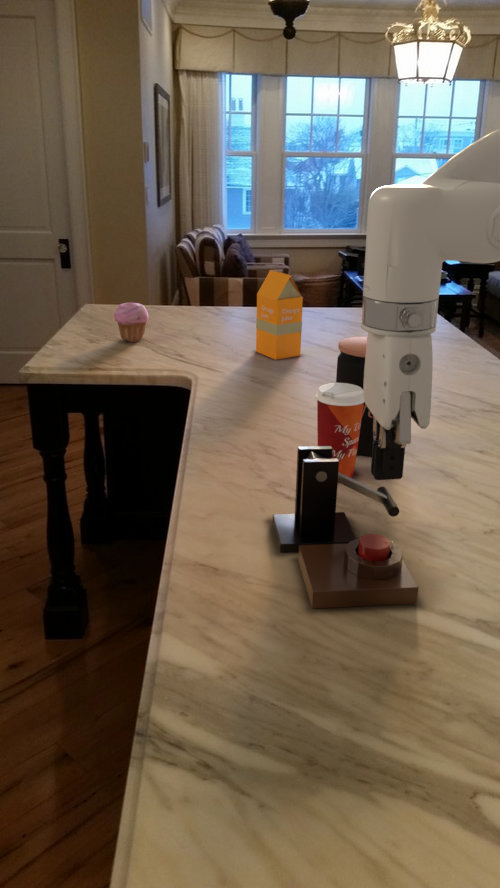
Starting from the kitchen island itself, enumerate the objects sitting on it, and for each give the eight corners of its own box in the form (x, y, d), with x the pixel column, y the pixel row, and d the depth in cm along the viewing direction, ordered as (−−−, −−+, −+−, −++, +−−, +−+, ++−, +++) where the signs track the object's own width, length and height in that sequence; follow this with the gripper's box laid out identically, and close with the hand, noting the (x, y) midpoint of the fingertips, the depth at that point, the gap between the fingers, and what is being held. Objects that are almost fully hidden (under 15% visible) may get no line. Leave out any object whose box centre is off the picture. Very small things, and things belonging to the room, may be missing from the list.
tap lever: (381, 500, 96) (390, 486, 95) (393, 521, 90) (403, 506, 90) (299, 460, 92) (308, 445, 92) (307, 480, 87) (317, 464, 86)
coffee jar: (320, 447, 121) (326, 345, 114) (349, 429, 129) (356, 333, 122) (377, 462, 115) (387, 356, 108) (403, 442, 124) (414, 342, 117)
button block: (392, 556, 89) (395, 529, 87) (416, 603, 80) (420, 573, 78) (298, 560, 88) (299, 532, 86) (312, 608, 78) (313, 578, 77)
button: (384, 545, 84) (385, 532, 84) (392, 562, 81) (394, 548, 80) (354, 546, 84) (355, 534, 83) (362, 563, 81) (363, 549, 80)
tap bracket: (343, 519, 98) (349, 440, 93) (357, 549, 90) (364, 465, 86) (272, 521, 97) (274, 442, 92) (280, 552, 89) (283, 467, 85)
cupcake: (109, 339, 187) (107, 301, 184) (136, 334, 193) (135, 297, 189) (128, 346, 181) (126, 307, 178) (155, 340, 187) (154, 303, 183)
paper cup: (341, 488, 106) (347, 400, 101) (301, 473, 111) (305, 389, 106) (370, 472, 112) (377, 388, 106) (331, 459, 117) (336, 378, 111)
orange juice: (280, 347, 182) (282, 268, 174) (300, 355, 175) (304, 274, 168) (255, 351, 178) (256, 271, 170) (275, 359, 171) (277, 276, 164)
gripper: (461, 331, 65) (441, 506, 72) (412, 298, 79) (399, 448, 86) (382, 333, 65) (370, 509, 72) (346, 300, 78) (339, 451, 85)
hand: (386, 476), depth 79 cm, fingers closed
